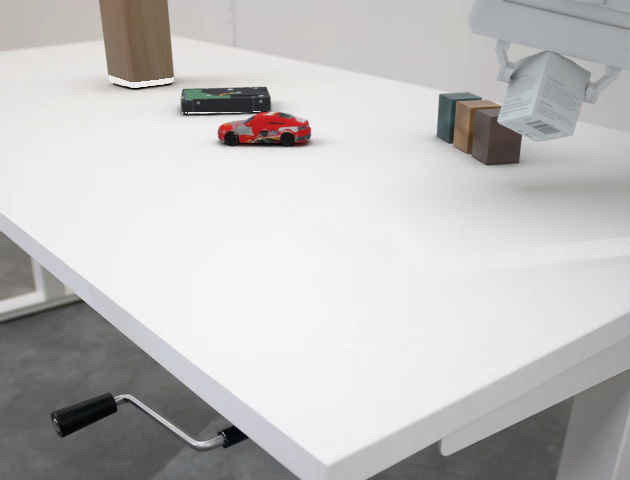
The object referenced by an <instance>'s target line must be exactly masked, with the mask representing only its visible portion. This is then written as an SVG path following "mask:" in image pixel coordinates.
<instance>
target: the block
mask: <svg viewBox="0 0 630 480" xmlns="http://www.w3.org/2000/svg"><path fill="white" fill-rule="evenodd" d="M98 3H99V12H100V20H101V28H102V29H101V30H102V37H103V45H104V51H105V60H106V69H107V76H108V75H111V76H114V77H117V78H120V79H123V80H126V81H129V82H141V81H150V80H159V79H165V78H172V77H174V78H175V73H174V72H175V71H174V70H175V69H174V60H173V59H174V58H173V48H172V47H173V45H172V36H171V27H170V26H171V25H170V13H169V2H168V0H98Z"/></svg>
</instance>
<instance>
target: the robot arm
mask: <svg viewBox="0 0 630 480" xmlns="http://www.w3.org/2000/svg"><path fill="white" fill-rule="evenodd" d="M466 23H467V27H468V29H469V30H470V32H471V33H472V34H475V35H479V36H483V37H488V38H490V39H491V38H492V39H494V40H495V39H496V40H497V41H496V43H495V48H494V50H495V54H496V57H497V61H498V66H500V67H499V70H498V73H497V77H496V81H497V82H503V83H507V84H509V83H510V80H511V76H512V73H513V70H514V67H515V62H512V61H509V57H508V53H507V52H508V51H509V48H510V46H511V43H512V44H517V45H520V46H525V47H528V48H533V49H537V50H541V51H550V52H553V53H558V54H560V55H562V56H567V57H571V58H574V59H579V60H583V61H587V62H591V63H594V64H598V65H599V64H600V65H604V74H603V75H602V76H601V77H600V78H598V79H597V80H596V81H595V82H594V81H591V80H589V83H588V85H587V88H586V92H585V96H584V99H583V103H587V104H589V105H590V104H591V105H596V104H597V101H598V99H599V97H600V94H601V92H602V91H604V90H605V89H607V88H608V87H609V86H610V85H611V84H613V83H614V82H616V81H617V80H618V79H619V76H620V74H621V72H622V70H625V71H629V72H630V0H473V2H472V5H471V7H470V10H469V13H468V17H467V21H466Z"/></svg>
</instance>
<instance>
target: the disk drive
mask: <svg viewBox="0 0 630 480" xmlns="http://www.w3.org/2000/svg"><path fill="white" fill-rule="evenodd" d="M180 95H181V96H180V111H181V113H182V112H183V113H185V112H187V113H188V112H253V111H263V112H264V111H266V112H272V99H271V98H272V97H271V95H270V92H269V90H268V87H267V86H240V87H239V86H236V87H201V88H200V87H199V88H197V87H194V88H182V89H181V92H180Z"/></svg>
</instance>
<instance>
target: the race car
mask: <svg viewBox="0 0 630 480" xmlns="http://www.w3.org/2000/svg"><path fill="white" fill-rule="evenodd" d="M311 137H312V128H311V127H310V122H309V119H308V118H307V119H306V118H303V117H298V116H297V115H294V114H292V113H286V112H280V111H266V112H264V111H263V112H259V113H255V114H254V115H252V116H250V117H248V118H246V119H239V120H233V121H228V122H225V123H222V124H221V125H219V127H218V129H217V138H218V139H219V140H220V141H222V142H226V144H227V145H228V146H232V147H233V146H236V145H238V144H239V143H241V144H282V145H283V146H285V147H291V146H293V144H294V143H295V144H299V143H303V142H306V141H308V140H310V139H311Z"/></svg>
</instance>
